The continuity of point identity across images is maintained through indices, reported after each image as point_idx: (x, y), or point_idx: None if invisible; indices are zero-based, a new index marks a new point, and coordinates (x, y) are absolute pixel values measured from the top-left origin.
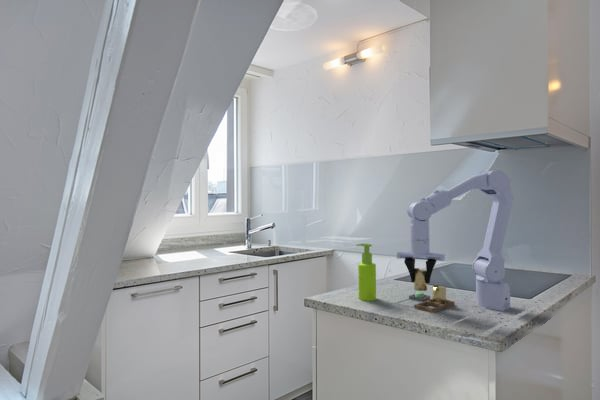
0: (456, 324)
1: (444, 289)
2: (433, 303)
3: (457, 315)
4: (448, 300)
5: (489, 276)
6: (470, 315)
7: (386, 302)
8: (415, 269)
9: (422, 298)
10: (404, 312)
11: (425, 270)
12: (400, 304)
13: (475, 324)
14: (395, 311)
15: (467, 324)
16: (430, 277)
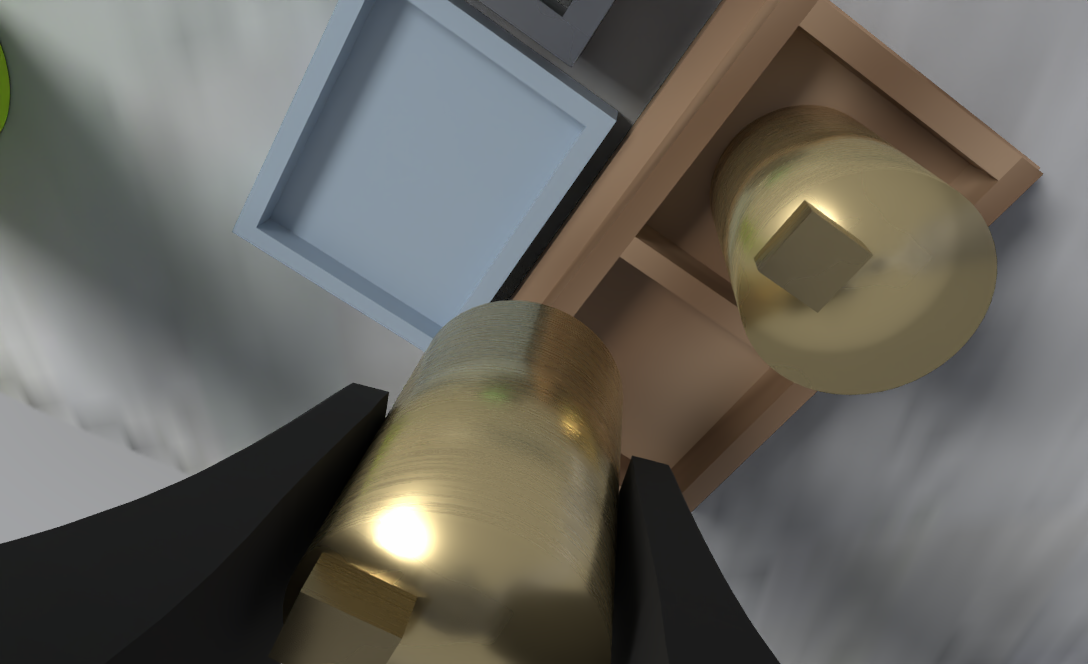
0: (820, 635)
1: (929, 359)
2: (703, 311)
3: (922, 414)
4: (966, 133)
5: None
6: (1076, 396)
7: (117, 12)
8: (310, 654)
9: (578, 54)
10: (391, 391)
11: (574, 619)
12: (315, 282)
13: (990, 624)
14: (303, 373)
15: (917, 629)
16: (692, 524)
